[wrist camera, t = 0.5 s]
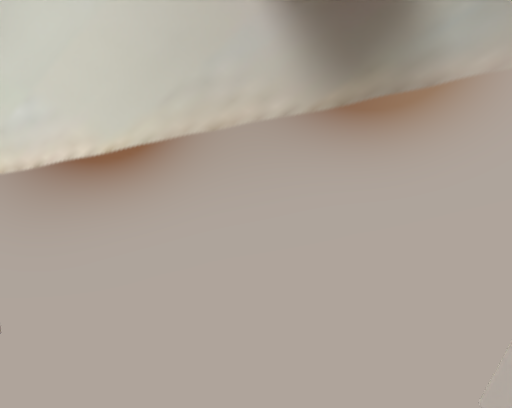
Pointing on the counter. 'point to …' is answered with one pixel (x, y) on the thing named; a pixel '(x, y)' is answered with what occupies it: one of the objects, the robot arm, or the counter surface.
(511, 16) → the counter surface
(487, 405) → the robot arm
